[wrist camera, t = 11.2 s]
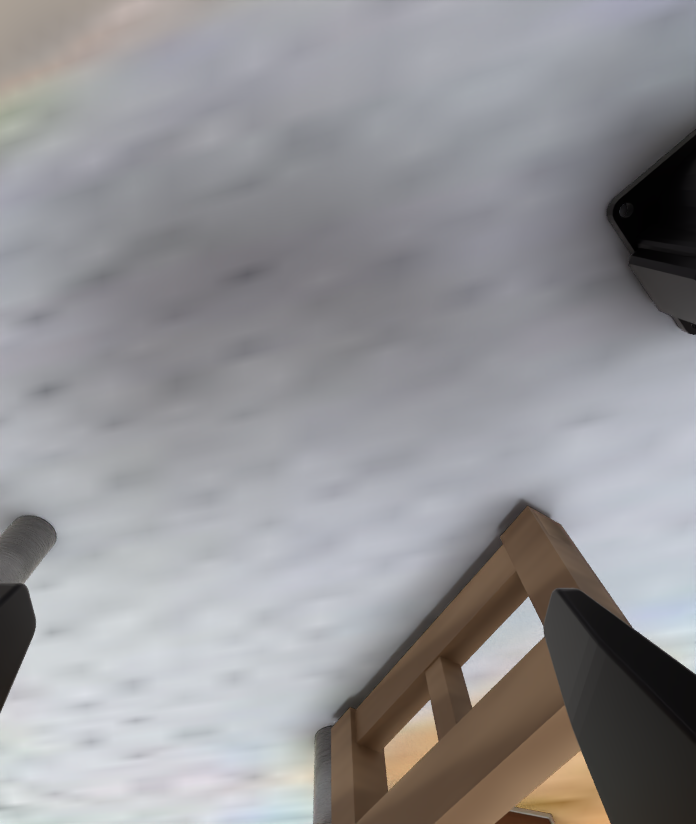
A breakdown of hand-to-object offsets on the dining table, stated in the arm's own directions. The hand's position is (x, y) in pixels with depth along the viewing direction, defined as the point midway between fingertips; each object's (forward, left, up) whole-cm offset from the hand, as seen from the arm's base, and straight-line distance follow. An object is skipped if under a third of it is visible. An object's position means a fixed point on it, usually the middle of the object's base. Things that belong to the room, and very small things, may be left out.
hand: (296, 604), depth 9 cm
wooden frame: (+5, +14, -12) cm, 20 cm away
